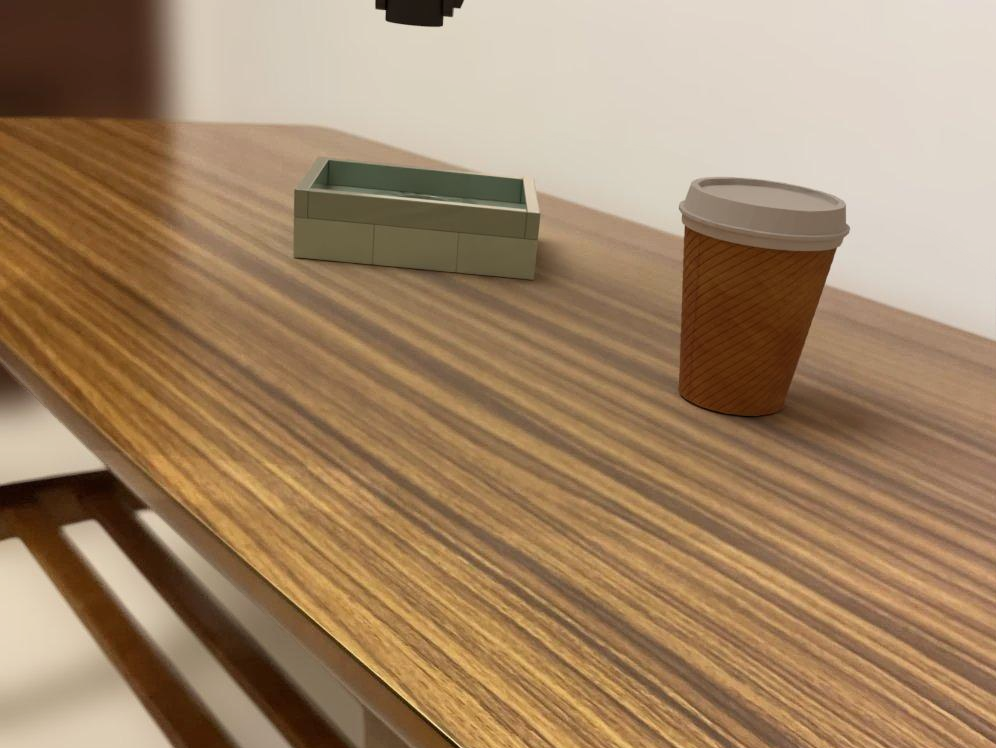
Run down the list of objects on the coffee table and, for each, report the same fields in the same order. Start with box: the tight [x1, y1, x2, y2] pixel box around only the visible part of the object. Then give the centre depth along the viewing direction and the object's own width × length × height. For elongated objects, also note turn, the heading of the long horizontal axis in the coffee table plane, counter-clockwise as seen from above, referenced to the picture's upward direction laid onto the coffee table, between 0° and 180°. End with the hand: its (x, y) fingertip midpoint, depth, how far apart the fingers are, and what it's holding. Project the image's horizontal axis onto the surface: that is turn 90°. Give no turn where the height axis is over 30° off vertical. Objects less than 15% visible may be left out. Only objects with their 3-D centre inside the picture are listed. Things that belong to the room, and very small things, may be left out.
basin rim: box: [293, 156, 541, 240], centre depth 97 cm, size 18×14×2 cm
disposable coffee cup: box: [678, 176, 851, 417], centre depth 71 cm, size 10×10×12 cm
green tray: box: [292, 184, 539, 281], centre depth 98 cm, size 18×15×3 cm
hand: (415, 11), depth 85 cm, fingers closed on stopper, 4 cm apart
